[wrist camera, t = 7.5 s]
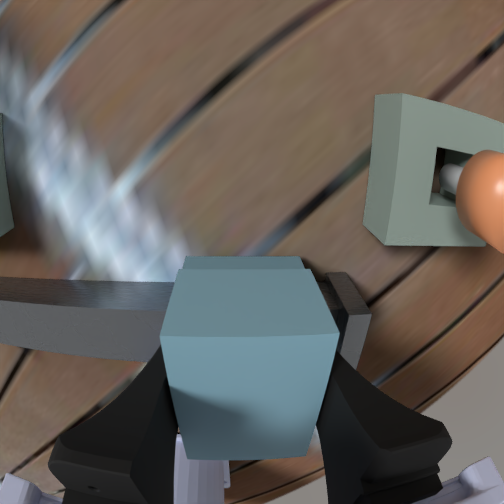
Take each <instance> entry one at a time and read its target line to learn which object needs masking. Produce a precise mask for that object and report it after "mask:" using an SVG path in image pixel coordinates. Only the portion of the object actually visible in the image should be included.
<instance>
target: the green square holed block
mask: <svg viewBox="0 0 504 504" xmlns="http://www.w3.org/2000/svg"><path fill="white" fill-rule="evenodd" d="M437 147H441V148H446V152H445V160H444V165H446V164H448V163H452V164H455V165H458V166H461V167H464V166H465V165H466V163H467V162H468V160H469V159H470V158H471V157H472V156H473V155H475V154H476V153H478V152H480V151H482V150H493V151H497V152H500V153H503V152H504V123H501V122H498V121H496V120H493V119H490V118H487V117H485V116H482V115H479V114H476V113H473V112H470V111H467V110H463V109H460V108H457V107H454V106H450V105H447V104H443V103H440V102H436V101H432V100H428V99H424V98H420V97H416V96H412V95H408V94H403V93H398V94H381V95H375V105H374V122H373V136H372V148H371V159H370V169H369V179H368V187H367V196H366V203H365V211H364V218H363V225H364V226H365V227H366V228H367V229H368V230H369V231H370V232H371V233H372V234H373V235H374V236H376V237H377V238H378V239H379V240H380V241H381V242H382V243H383V244H384V245H398V246H481V247H485V246H486V242H485V241H484V240H482V239H481V238H479V237H478V236H476V235H474V234H473V233H471V232H470V231H468V230H467V229H466V228H465V227H464V226H463V225H462V223H461V221H460V219H459V217H458V213H457V208H456V195H455V194H453V193H451V192H449V191H446V190H444V189H443V188H442V187H441V188H440V193H432V192H431V188H432V182H433V175H434V167H435V159H436V151H437Z"/></svg>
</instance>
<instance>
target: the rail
mask: <svg viewBox="0 0 504 504" xmlns="http://www.w3.org/2000/svg"><path fill="white" fill-rule="evenodd" d="M174 284H175V283H170V282H116V281H81V280H54V279H32V278H12V277H0V343H3V344H8V345H13V346H18V347H24V348H30V349H35V350H42V351H48V352H55V353H62V354H69V355H77V356H85V357H94V358H104V359H115V360H126V361H140V362H149V360H150V359H151V358H152V356H153V355H154V354H155V352H156V351H157V349H158V348H159V346H160V345H161V341H160V332H161V329H162V325H163V322H164V318H165V314H166V311H167V307H168V304H169V301H170V297H171V294H172V290H173V287H174ZM317 284H318V287H319V289H320V291H321V293H322V295H323V297H324V300H325V302H326V304H327V306H328V308H329V310H330V313H331V315H332V317H333V319H334V321H335V324H336V326H337V328H338V330H339V333H340V334H339V339H338V343H337V347H336V350H337V351H338V352H339V353H340V354H341V355H342V357H343V358H344V359H345V360H346V361H347V362H348V363H349V364H350V365H351V366H352V367H353V368H354V369H355V370H356V368H357V365H358V362H359V358H360V355H361V352H362V348H363V345H364V342H365V338H366V334H367V331H368V327H369V324H370V320H371V316H372V313H371V312H370V310H369V308H368V307H367V305H366V304H365V302H364V300H363V299H362V297H361V296H360V294H359V292H358V291H357V289H356V288H355V286H354V285H353V283H352V282H351V280H350V279H349V277H348V275H347V274H346V272H337V273H326V278H325V282H317Z"/></svg>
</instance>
